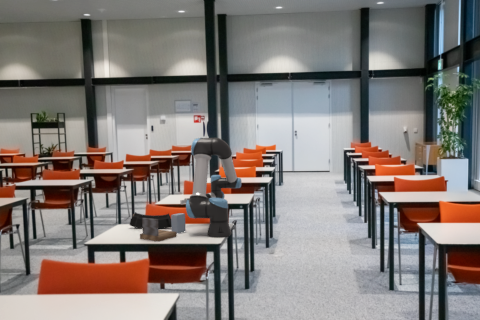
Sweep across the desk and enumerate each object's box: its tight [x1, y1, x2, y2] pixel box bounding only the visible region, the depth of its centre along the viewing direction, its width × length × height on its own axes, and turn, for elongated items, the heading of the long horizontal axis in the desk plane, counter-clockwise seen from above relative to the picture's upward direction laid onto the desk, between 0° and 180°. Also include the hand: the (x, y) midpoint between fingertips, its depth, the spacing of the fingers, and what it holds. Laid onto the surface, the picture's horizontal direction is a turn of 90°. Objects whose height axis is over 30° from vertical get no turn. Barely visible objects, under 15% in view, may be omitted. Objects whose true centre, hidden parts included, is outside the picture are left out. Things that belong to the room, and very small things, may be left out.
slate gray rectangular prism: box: [170, 212, 187, 234], centre depth 342 cm, size 5×8×12 cm, turn 145°
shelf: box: [139, 218, 178, 242], centre depth 327 cm, size 16×16×13 cm
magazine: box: [129, 212, 172, 229], centre depth 358 cm, size 17×3×30 cm
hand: (188, 203), depth 352 cm, fingers open, 13 cm apart
